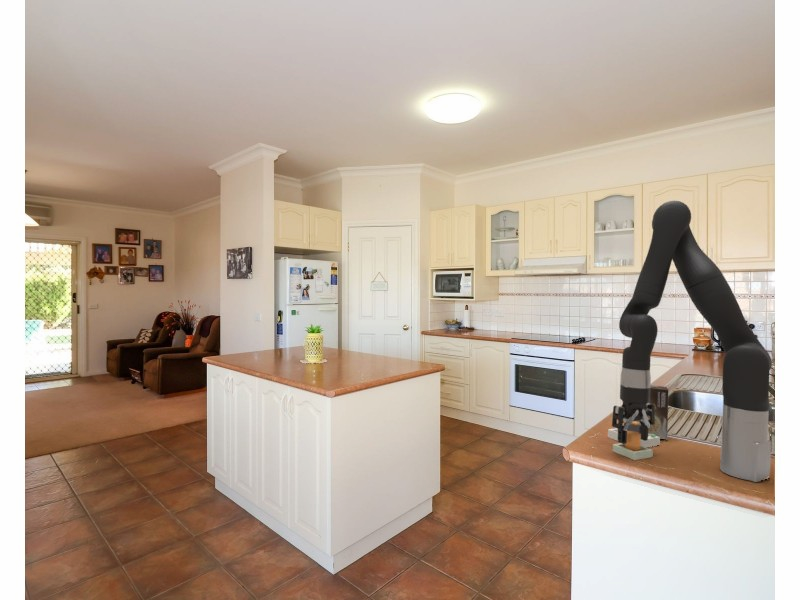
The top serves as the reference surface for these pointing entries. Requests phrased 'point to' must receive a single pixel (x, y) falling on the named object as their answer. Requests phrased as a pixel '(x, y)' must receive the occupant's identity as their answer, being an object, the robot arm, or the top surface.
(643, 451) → the pale green square frame
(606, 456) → the top surface
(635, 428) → the tagged breaker
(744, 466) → the robot arm
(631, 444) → the cap
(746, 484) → the top surface
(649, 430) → the coffee box
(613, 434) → the box
